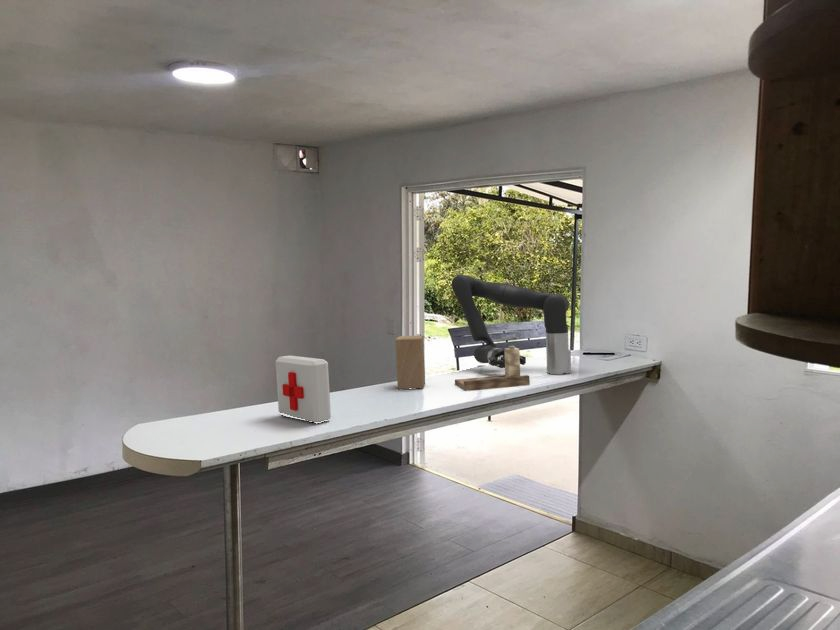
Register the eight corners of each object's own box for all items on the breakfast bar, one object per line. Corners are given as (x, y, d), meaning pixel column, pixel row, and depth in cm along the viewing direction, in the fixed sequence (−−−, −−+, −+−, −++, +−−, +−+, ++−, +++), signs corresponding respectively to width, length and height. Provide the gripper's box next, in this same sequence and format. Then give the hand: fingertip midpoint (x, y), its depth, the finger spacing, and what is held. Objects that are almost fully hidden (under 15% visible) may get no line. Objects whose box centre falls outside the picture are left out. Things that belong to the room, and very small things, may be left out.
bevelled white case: (274, 417, 219) (270, 357, 217) (294, 412, 225) (291, 354, 223) (312, 426, 204) (308, 362, 203) (333, 421, 210) (329, 359, 208)
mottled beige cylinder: (516, 377, 261) (514, 345, 260) (520, 379, 257) (519, 346, 256) (505, 378, 260) (504, 345, 259) (509, 380, 256) (508, 347, 255)
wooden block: (425, 384, 266) (423, 335, 265) (423, 389, 256) (420, 338, 255) (400, 385, 267) (398, 336, 266) (397, 389, 257) (395, 339, 256)
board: (516, 379, 269) (515, 370, 268) (529, 384, 255) (529, 375, 255) (454, 384, 263) (454, 375, 262) (465, 390, 249) (465, 381, 249)
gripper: (482, 349, 270) (496, 354, 254) (515, 347, 273) (530, 352, 258) (483, 367, 271) (496, 374, 255) (515, 365, 274) (531, 371, 258)
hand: (513, 363), depth 256 cm, fingers open, 8 cm apart
